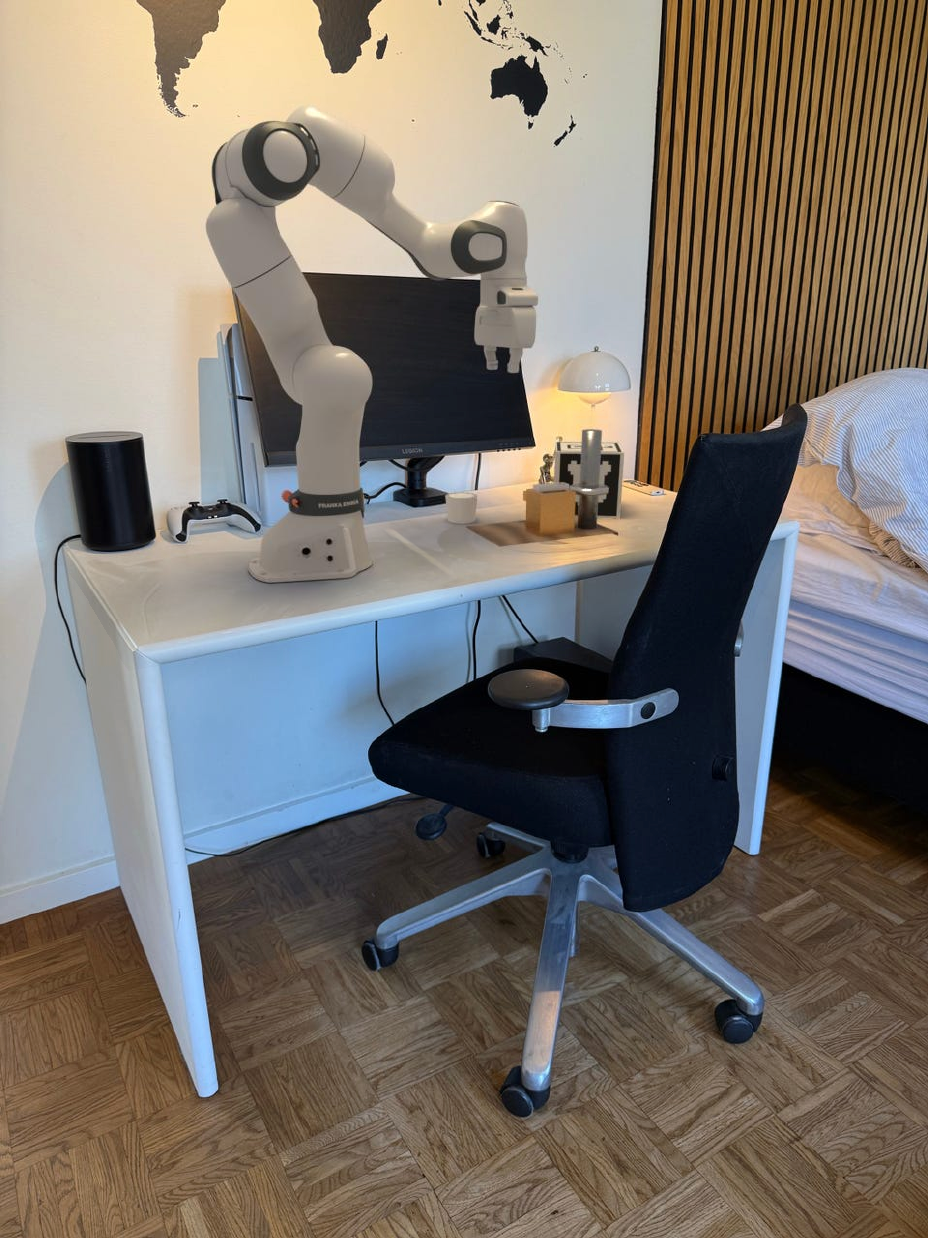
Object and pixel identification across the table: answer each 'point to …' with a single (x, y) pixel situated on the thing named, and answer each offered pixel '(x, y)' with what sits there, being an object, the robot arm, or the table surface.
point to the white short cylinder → (461, 507)
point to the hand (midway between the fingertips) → (502, 370)
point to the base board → (529, 533)
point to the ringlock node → (569, 496)
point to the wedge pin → (551, 487)
